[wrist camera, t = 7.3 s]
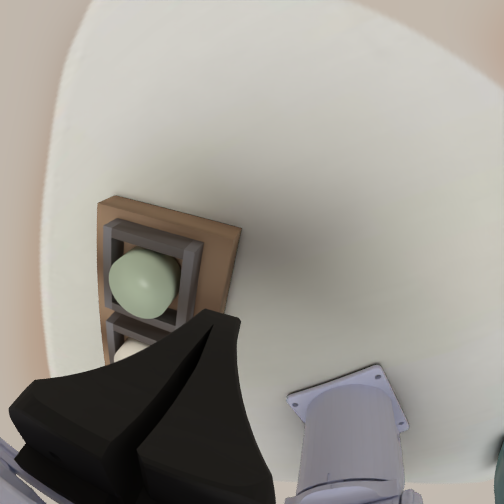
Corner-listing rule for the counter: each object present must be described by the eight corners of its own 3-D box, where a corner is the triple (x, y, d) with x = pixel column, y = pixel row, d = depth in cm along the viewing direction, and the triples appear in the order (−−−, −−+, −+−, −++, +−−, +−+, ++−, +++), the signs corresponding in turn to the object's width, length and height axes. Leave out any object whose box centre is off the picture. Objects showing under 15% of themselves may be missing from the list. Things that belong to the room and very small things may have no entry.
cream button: (125, 325, 21) (111, 341, 20) (176, 344, 21) (164, 362, 19) (127, 362, 23) (115, 378, 21) (173, 380, 23) (163, 398, 21)
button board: (114, 195, 20) (83, 209, 17) (241, 228, 19) (226, 250, 16) (120, 394, 29) (105, 417, 26) (201, 426, 28) (190, 453, 25)
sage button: (126, 235, 18) (108, 248, 17) (185, 253, 18) (171, 268, 16) (125, 290, 20) (109, 305, 18) (179, 309, 20) (166, 327, 18)
